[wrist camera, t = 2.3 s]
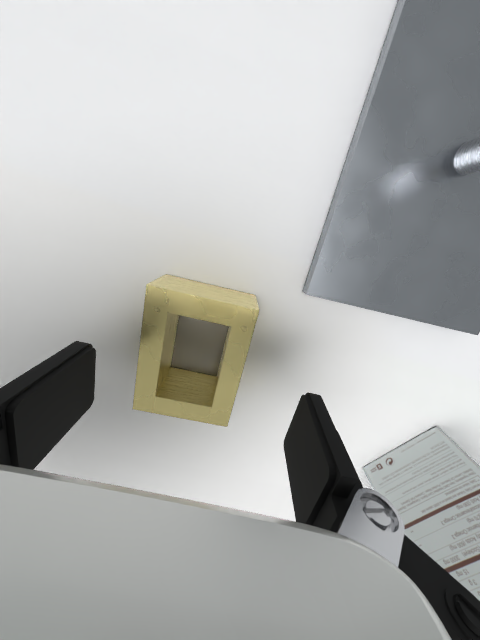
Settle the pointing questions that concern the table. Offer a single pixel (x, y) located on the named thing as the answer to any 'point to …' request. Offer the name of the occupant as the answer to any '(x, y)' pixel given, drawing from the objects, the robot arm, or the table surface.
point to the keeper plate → (412, 177)
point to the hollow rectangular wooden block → (158, 343)
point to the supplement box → (435, 501)
